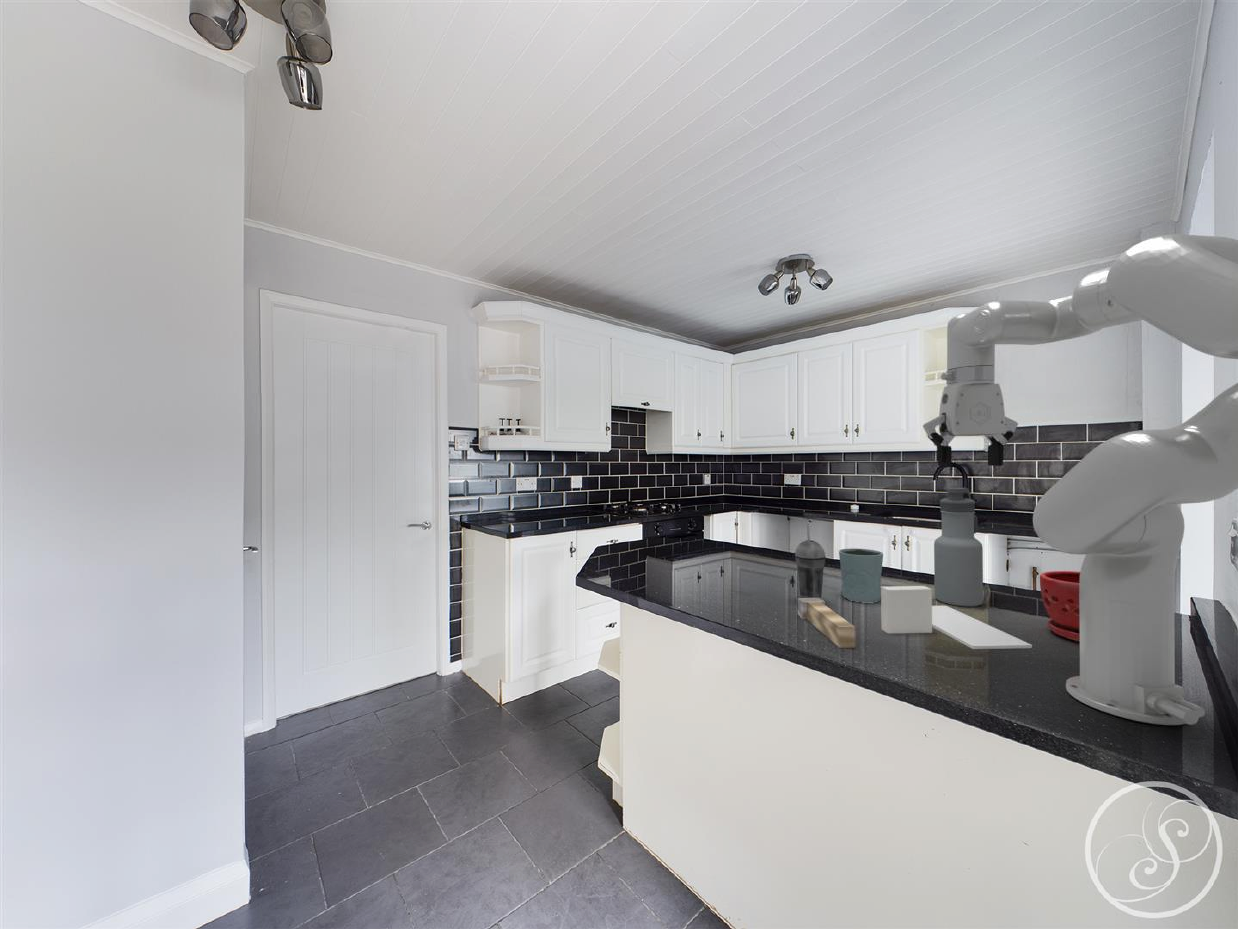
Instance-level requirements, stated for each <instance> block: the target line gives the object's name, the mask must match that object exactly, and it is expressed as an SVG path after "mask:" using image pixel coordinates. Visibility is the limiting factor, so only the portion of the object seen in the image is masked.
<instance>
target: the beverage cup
mask: <svg viewBox="0 0 1238 929" xmlns="http://www.w3.org/2000/svg"><path fill="white" fill-rule="evenodd" d="M806 532H807V533H806V535H807V539H806V540H803V541H802V542H800V543H799V544H798V545H797V547H796V549H795V551H794V552H795V553H794V557H795V563H796V567H797V568H796V569H797V577H798V589H799V595H800V598H820V599H822V596H823V595H822V593H823V592H822V591H823V581H824V568H825V563H826V559H827V557H826V553H825V549H824V548H823V547H822V545H821V544H820V543H819V542H817V541H815V540H812V539H810V537H811V536H810V524H809V522H807V523H806Z"/></svg>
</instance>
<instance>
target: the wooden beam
mask: <svg viewBox="0 0 1238 929" xmlns="http://www.w3.org/2000/svg"><path fill="white" fill-rule="evenodd" d="M798 615H799V616H800V617H799V616H798ZM797 616H798V617H799V618H800V619H801V620H803V619H807V621H808V622H809V623H810V624H812V625H813V626H814V627H815V628H816V629H817V630H818V631H820V632H821V633H822V634H823V636H825V637H826V638H828V639H829V640H830V641H831V642H832V643H833V644H834V645H836V646H837V647H838V648H839V649H840V648H841V649H847V648H848V649H849V648H851V649H852V648H854V649H855V648H856V626H855V625H853V624H852V623H850V622H849V621H848V620H846V619H845V618H843V617H842V616H841V615H840V614H838V613H837V612H835V611H834V610H833V609H831V608H829V607H828V606H827V605H826V601H824V600H823V599H822V598H821V599H820V598H801V597H800V598H799V597H797Z"/></svg>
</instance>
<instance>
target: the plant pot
mask: <svg viewBox="0 0 1238 929" xmlns="http://www.w3.org/2000/svg"><path fill="white" fill-rule="evenodd" d="M1039 588H1040V594H1041V598H1042V603H1043V605H1044V608H1045V611H1046V613H1047V614H1048V615H1049V617H1050V620H1048V621H1047V625H1048V628H1049V629H1050V630H1051V631H1052V632H1053V633H1054V634H1057V635H1058V636H1061V637H1063V638H1066V639H1069V640H1071V641H1075V642H1077V643H1080V605H1079V590H1080V571H1074V570H1071V571H1070V570H1054V571H1051V570H1050V571H1045V572H1042V573H1040V575H1039Z"/></svg>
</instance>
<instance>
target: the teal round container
mask: <svg viewBox="0 0 1238 929" xmlns="http://www.w3.org/2000/svg"><path fill="white" fill-rule="evenodd" d="M838 555H839V564H840V575H841V589H842V597H843V596H844V597H845V598H847V599H849V600H852V601H859V602H876V601H879V602H881V587H882V586H881V582H882V572H883V559H884V553H883V552H882V551H880V550H874V549H868V548H867V549H866V548H853V547H852V548H842V549H840V550H838Z"/></svg>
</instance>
